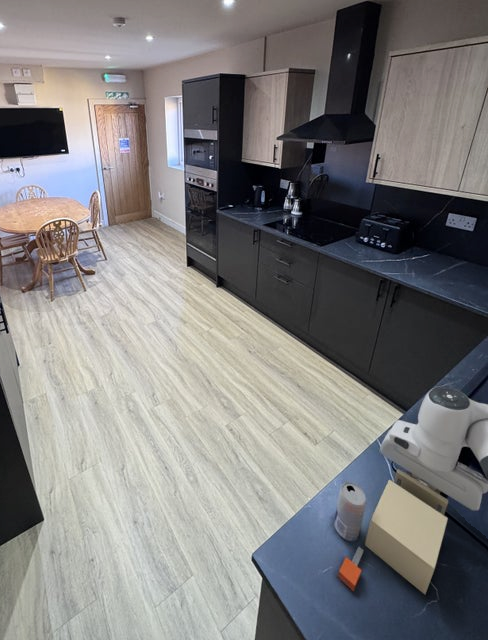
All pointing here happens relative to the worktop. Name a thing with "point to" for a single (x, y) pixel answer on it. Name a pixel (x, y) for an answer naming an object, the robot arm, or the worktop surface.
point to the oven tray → (421, 491)
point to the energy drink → (349, 511)
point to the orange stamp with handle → (351, 570)
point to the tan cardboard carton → (406, 535)
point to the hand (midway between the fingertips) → (421, 489)
